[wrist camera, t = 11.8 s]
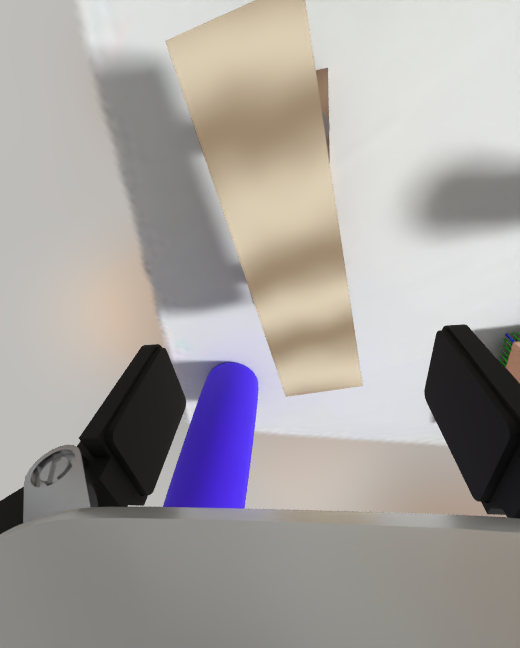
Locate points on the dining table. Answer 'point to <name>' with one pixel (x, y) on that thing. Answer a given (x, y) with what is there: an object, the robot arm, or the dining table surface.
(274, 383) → the dining table surface
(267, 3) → the shelf board
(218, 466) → the bottle
